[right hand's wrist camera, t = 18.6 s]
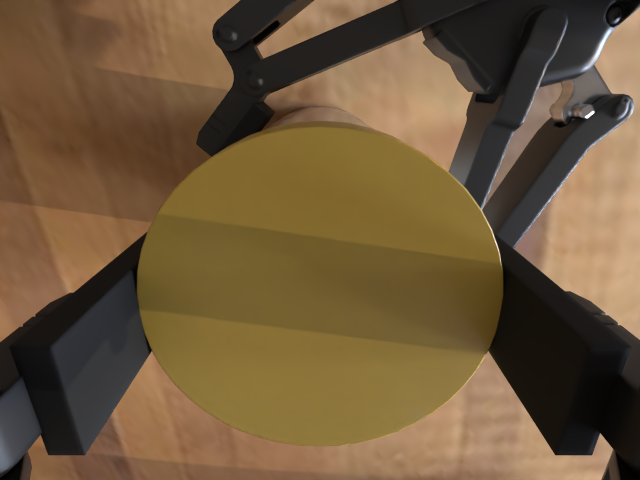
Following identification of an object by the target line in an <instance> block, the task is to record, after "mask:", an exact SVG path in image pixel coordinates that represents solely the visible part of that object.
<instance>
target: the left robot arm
mask: <svg viewBox="0 0 640 480" xmlns="http://www.w3.org/2000/svg"><path fill="white" fill-rule="evenodd" d="M313 1H314V0H240V1H239V2H238V3H237V4H236V5H235V6H233V7H232V8H231V9H230V10H229V11H228V12H226V13H225V14H224V15H223V16H222V17H220V18H219V19H218V20H217V21H216V23H215V24H214V27H213V30H212V33H213V39H214V41H215V43H216V45H217V46H219V47H220V48H221V50H222V51H223V53H224V55H225V57H226V58H227V60H228V62H229V63H230V65H231V67H232V70H233V73H234V82H233V86H232V88H231V89H230V91H229V92H228V94H227V95H226V96H225V98H224V99H223V100H222V102H221V103H220V104H219V106H218V107H217V109H216V110H215V111H214V113H213V114H212V115H211V117H210V118H209V119H208V121H207V122H206V124H205V125H204V126H203V128H202V129H201V130H200V132H199V135H198V139H197V143H196V144H197V145H198V146H199V147H200V148H202V149H203V150H204V151H205V152H207V153H208V154H209V155H210V156H211V157H213V156H214V155H215V154H217V153H219V152H220V151H222V150H223V149H225V148H227V147H228V146H230V145H232V144H234V143H236V142H238V141H239V140H241V139H243V138H245V137H247V136H249V135H252V134H254V133H257V132H260V131H261V130H262V129H263V128H264V126H265V125H266V124H267V123H268V121H269V120H270V119H271V118H272V116H273V115H274V114H275V111H273V110H272V109H271V108H270V107H269V106H268V105H267V104H266V103H264V102H263V101H264V99H265V98H266V97H267V95H269V94H270V93H273V92H275V91H277V90H280V89H282V88H285V87H287V86H289V85H292V84H294V83H297V82H299V81H301V80H304V79H306V78H309V77H311V76H313V75H316V74H318V73H321V72H323V71H325V70H328V69H330V68H333V67H335V66H337V65H340V64H342V63H345V62H347V61H349V60H352V59H354V58H357V57H359V56H361V55H364V54H366V53H369V52H371V51H373V50H376V49H378V48H381V47H383V46H385V45H388V44H390V43H393V42H395V41H398V40H401V39H403V38H405V37H408V36H410V35H413V34H415V33H417V32H420V31H422V33H423V36H424V38H425V41H424V42H423V44H424V45H425V46H426V47H427V48H428V49H429V50H430V51H431V52H432V53H433V54H434V55H435V56H437V57H438V58H440V59H442V60H444V61H445V62H447V63H449V64H450V66H451V68H452V70H453V72H454V74H455V76H456V78H457V80H458V81H459V82H460V83H461V84H462V85H463V87H464V88H465V89H466V90H467V91H468V92H473V95H472V97H471V100H470V103H469V106H468V109H467V114H466V115H467V122H466V125H465V128H464V131H463V133H462V136H461V139H460V142H459V144H458V147H457V150H456V153H455V155H454V158H453V161H452V164H451V166H450V169H449V172H450V173H451V174H452V175H453V176H454V177H455V178H456V179H457V180H458V181H459V182H460V183H461V184H462V185H463V186H464V187H465V188H466V189H467V191H468V192H469V193H470V195H471V196H472V197H473V199H474V200H475V201H476V203H477V204H478V206H479V207H480V208H481V210H482V208H483V206H484V203H485V201H486V198H487V196H488V193H489V191H490V188H491V186H492V184H493V181H494V179H495V176H496V174H497V171H498V169H499V167H500V164H501V162H502V159H503V157H504V154H505V152H506V149H507V147H508V145H509V142H510V140H511V137H512V135H513V133H514V131H515V130H516V129H518V128H519V127H520V126H521V125H522V124H523V122H524V120H525V118H526V116H527V114H528V111H529V109H530V106H531V104H532V102H533V99H534V97H535V94H536V92H537V90H538V87H543V86H547V85H551V84H555V83H560V82H561V84H562V92H561V95H560V97H559V98H558V100H557V101H556V102H555V103H554V104H552V105H551V107H550V110H549V112H550V114H551V116H552V117H551V118H550V119H549V120H548V121H547V122H546V123H545V124H544V125H543V126H542V127H541V128H540V129H539V130H538V131H537V133H536V134H535V135H534V137H533V138H532V139H531V141H530V142H529V144H528V145H527V146H526V148H525V149H524V151H523V152H522V154H521V155H520V156H519V158H518V159H517V161H516V162H515V164H514V165H513V167H512V168H511V169H510V171H509V172H508V174H507V175H506V177H505V178H504V179H503V181H502V182H501V184H500V185H499V187H498V188H497V190H496V191H495V192H494V194H493V195H492V197H491V198H490V200H489V201H488V202H487V204H486V205H485V207H484V208H483V210H482V212H483V214H484V215H485V217H486V219H487V221H488V223H489V225H490V227H491V229H492V231H493V232H494V233H495V234H496V235H497V236H499V237H500V238H501V239H502V240H503V241H505V242H506V243H507V244H508V245H509V246H511V247H512V248H513V249H514V247H515V246H516V245H517V243H518V242H519V241H520V239H521V238H522V237H523V236H524V234H525V233H526V232H527V230H528V229H529V228H530V226H531V225H532V224H533V222H534V221H535V220H536V218H537V217H538V216H539V214H540V213H541V212H542V210H543V209H544V208H545V206H546V205H547V204H548V203H549V201H550V200H551V199H552V197H553V196H554V195H555V193H556V192H557V191H558V189H559V188H560V187H561V185H562V184H563V183H564V181H565V180H566V179H567V177H568V176H569V175H570V173H571V172H572V171H573V170H574V168H575V167H576V166H577V164H578V163H579V162H580V160H581V159H582V158H583V156H584V155H585V154H586V152H587V151H588V150H589V148H590V147H592V146H593V145H594V144H596V143H597V142H598V141H600V140H601V139H602V138H604V137H605V136H606V135H607V134H609V133H610V132H611V131H613V130H614V129H615V128H617V127H618V126H619V125H621V124H622V123H623V122H625V121H626V120H627V119H628V118H629V117H630V116H631V114H632V112H633V109H634V102H633V99H632V98H631V97H630V96H629V95H625V94H612V93H611V92H610V90H609V89H608V87H607V85H606V84H605V82H604V80H603V79H602V77H601V75H600V74H599V72H598V70H597V69H596V67H595V65H594V64H595V63H596V61H597V60H598V58H599V56H600V53H601V51H602V49H603V46H604V44H605V42H606V41H607V39H608V37H609V36H610V34H611V33H612V32H613V30H614V29H615V28H616V27H617V26H618V25H619V24H621V23H622V22H623V21H624V20H625V19H626V18H628V17H629V16H630V15H631V14H632V13H634V12H635V11H636V10H637V9H638V8H639V7H640V0H398V1H396V2H394V3H392V4H389V5H387V6H385V7H382V8H380V9H378V10H376V11H373V12H371V13H369V14H366V15H364V16H362V17H359V18H357V19H355V20H352V21H350V22H348V23H345V24H343V25H341V26H338V27H336V28H334V29H332V30H329V31H327V32H325V33H322V34H320V35H318V36H315V37H313V38H311V39H308V40H306V41H304V42H301V43H299V44H297V45H294V46H292V47H290V48H287V49H285V50H283V51H281V52H278V53H276V54H274V55H271V56H269V57H267V58H264V59H263V57H262V55H261V53H260V52H259V50H258V48H257V46H258V45H259V44H261V43H262V42H263V41H264V40H266V39H267V38H268V37H269V36H271V35H272V34H273V33H274V32H276V31H277V30H278V29H279V28H280V27H282V26H283V25H284V24H285V23H287V22H288V21H289V20H290V19H292V18H293V17H294V16H295V15H297V14H298V13H299V12H300V11H302V10H303V9H304V8H305V7H307V6H308V5H309V4H310V3H311V2H313Z"/></svg>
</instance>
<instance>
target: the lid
mask: <svg viewBox="0 0 640 480" xmlns="http://www.w3.org/2000/svg"><path fill="white" fill-rule="evenodd" d="M137 299H138V305H139V310H140V315H141V320H142V325H143V329H144V333H145V336H146V338H147V340H148V343H149V345H150V347H151V350H152V352H153V354H154V355H155V357H156V359H157V360H158V362H159V364H160V365H161V367H162V369H163V370H164V371H165V372H166V374H167V375H168V376H169V378H170V379H171V380H172V381H173V383H174V384H175V385H176V386H177V387H178V388H179V389H180V390H181V391H182V392H183V393H184V394H185V395H186V396H187V397H188V398H189V399H190V400H191V401H193V402H194V403H195V404H197V405H198V406H199V407H200V408H202V409H203V410H204V411H206V412H207V413H209V414H210V415H212V416H214V417H215V418H217V419H218V420H220V421H222V422H224V423H226V424H228V425H230V426H232V427H234V428H236V429H238V430H240V431H243V432H246V433H248V434H251V435H254V436H257V437H260V438H264V439H268V440H272V441H276V442H280V443H287V444H293V445H302V446H339V445H346V444H354V443H360V442H364V441H368V440H372V439H377V438H380V437H383V436H386V435H389V434H392V433H394V432H397V431H400V430H402V429H404V428H406V427H408V426H410V425H412V424H415V423H416V422H418V421H420V420H421V419H423V418H425V417H426V416H428V415H430V414H431V413H433V412H434V411H436V410H437V409H438V408H440V407H441V406H442V405H443V404H445V403H446V402H447V401H449V400H450V399H451V398H452V397H453V396H454V395H455V394H456V393H457V392H458V391H459V390H460V389H461V388H462V387H463V386H464V385H465V384H466V383H467V381H468V380H469V379H470V378H471V376H472V375H473V374H474V373H475V371H476V370H477V368H478V367H479V365H480V364H481V362H482V360H483V359H484V357H485V356H486V354H487V352H488V350H489V347H490V345H491V343H492V341H493V338H494V336H495V333H496V329H497V325H498V321H499V316H500V311H501V305H502V300H503V270H502V264H501V258H500V252H499V249H498V246H497V243H496V240H495V237H494V234H493V231H492V229H491V227H490V225H489V223H488V221H487V219H486V217H485V215H484V214H483V212H482V210H481V208H480V207H479V206H478V204H477V203H476V201H475V200H474V199H473V197H472V196H471V195H470V193H469V192H468V191H467V189H466V188H465V187H464V186H463V185H462V184H461V183H460V182H459V181H458V180H457V179H456V178H455V177H454V176H453V175H452V174H451V173H450V172H448V171H447V170H446V169H444V168H443V167H442V166H440V165H439V164H438V163H436V162H435V161H434V160H432V159H431V158H429V157H428V156H427V155H425V154H423V153H422V152H420V151H419V150H417V149H415V148H414V147H412V146H410V145H408V144H406V143H404V142H403V141H401V140H399V139H397V138H395V137H393V136H391V135H388V134H386V133H383V132H380V131H377V130H375V129H372V128H369V127H364V126H360V125H355V124H350V123H345V122H332V121H308V122H295V123H290V124H285V125H280V126H275V127H272V128H269V129H266V130H263V131H260V132H257V133H254V134H252V135H249V136H247V137H245V138H243V139H241V140H239V141H238V142H236V143H234V144H232V145H230V146H228V147H227V148H225V149H223V150H222V151H220V152H219V153H217V154H215V155H214V156H213V157H211V158H210V159H208V160H207V161H206V162H204V163H203V164H201V165H200V166H199V167H197V168H196V169H194V170H193V171H192V172H191V173H190V174H189V175H188V176H187V177H186V178H185V179H184V180H183V181H182V182H181V183H180V184H179V185H178V186H176V187H175V189H174V190H173V191H172V193H171V194H170V195H169V196H168V198H167V199H166V200H165V202H164V203H163V204H162V206H161V207H160V209H159V211H158V212H157V214H156V216H155V218H154V220H153V222H152V223H151V225H150V227H149V229H148V232H147V235H146V238H145V241H144V243H143V246H142V249H141V254H140V259H139V265H138V270H137Z"/></svg>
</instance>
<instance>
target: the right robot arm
mask: <svg viewBox="0 0 640 480" xmlns="http://www.w3.org/2000/svg"><path fill="white" fill-rule="evenodd" d="M493 234H494V237H495V240H496V243H497V246H498V249H499V252H500V258H501V264H502V270H503V300H502V305H501V311H500V316H499V321H498V325H497V329H496V333H495V336H494V338H493V341H492V343H491V345H490V347H489V350H488V351H489V352H490V354H491V356H492V357H493V359H494V360H495V362H496V363H497V365H498V366H499V368H500V370H501V371H502V373H503V374H504V376H505V377H506V379H507V380H508V382H509V384H510V385H511V387H512V388H513V390H514V391H515V393H516V395H517V396H518V398H519V399H520V401H521V402H522V404H523V405H524V407H525V409H526V410H527V412H528V413H529V415H530V416H531V418H532V419H533V421H534V423H535V424H536V426H537V427H538V429H539V430H540V432H541V433H542V435H543V437H544V438H545V440H546V441H547V443H548V444H549V446H550V447H551V449H552V451H553V452H554V454H555V455H592V454H593V451H594V448H595V446H596V443H597V440H598V437H599V435H600V433H601V434H602V436H603V437H604V438H605V439H606V441H607V442H608V443H609V444H610V446H611V447H612V448H613V452H612V454H611V457H610V459H609V462H608V464H607V467H606V470H605V472H604V475H603V477H602V480H640V340H639V339H638V338H636V337H635V336H634V335H633V334H631V333H630V332H629V331H627V330H626V329H625V328H624V327H622V326H621V325H618V323H617V322H616V321H615V320H614V319H612V318H611V317H610V316H608V315H605V312H603V311H602V310H601V309H600V308H598V307H597V306H596V305H594V304H593V303H592V302H591V301H589V300H587V299H585V298H583V297H581V296H578V295H576V294H574V293H572V292H570V291H564V290H563V289H561V288H560V287H559V286H558V285H557V284H555V283H554V282H553V281H552V280H550V279H549V278H548V277H547V276H546V275H544V274H543V273H542V272H541V271H540V270H538V269H537V268H536V267H535V266H534V265H532V264H531V263H530V262H529V261H528V260H526V259H525V258H524V257H523V256H522V255H520V254H519V253H518V252H517V251H515V250H514V249H513V248H512V247H511V246H509V245H508V244H507V243H506V242H505V241H503V240H502V239H501V238H500V237H499V236H497V235H496V234H495V233H494V232H493ZM146 235H147V232H146V233H145V234H144V235H143V236H142V237H140V238H139V239H138V240H137V241H136V242H134V243H133V244H132V245H131V246H130V247H128V248H127V249H126V250H125V251H124V252H122V253H121V254H120V255H119V256H118V257H116V258H115V259H114V260H113V261H111V262H110V263H109V264H108V265H107V266H105V267H104V268H103V269H102V270H101V271H99V272H98V273H97V274H96V275H95V276H93V277H92V278H91V279H90V280H89V281H87V282H86V283H85V284H84V285H83V286H81V287H80V288H79V289H78V290H76V291H75V292H74V293H69V294H67V295H65V296H63V297H61V298H59V299H57V300H55V301H53V302H51V303H49V304H48V305H47V306H46V307H44V308H43V309H42V310H40V311H39V312H38V313H37V314H36V316H35V317H32V318H30V319H29V320H28V321H27V322H25V323H24V324H23V327H19V328H18V329H17V330H15V331H14V332H13V333H11V334H10V335H9V336H8V337H6V338H5V339H4V340H3V341H1V342H0V480H30V475H31V469H32V466H31V460H30V457H29V454H28V452H27V451H28V449H29V448H30V447H31V446H32V444H33V443H34V442H35V441H36V439H37V438H38V437H39V436H40V434H41V436H42V439H43V442H44V445H45V447H46V450H47V453H48V455H85V454H86V453H87V451H88V449H89V448H90V446H91V445H92V443H93V442H94V440H95V439H96V437H97V435H98V434H99V432H100V431H101V429H102V428H103V426H104V424H105V423H106V421H107V420H108V418H109V417H110V415H111V414H112V412H113V410H114V409H115V407H116V406H117V404H118V403H119V401H120V400H121V398H122V396H123V395H124V393H125V392H126V390H127V389H128V387H129V386H130V384H131V382H132V381H133V379H134V378H135V376H136V375H137V373H138V372H139V370H140V368H141V367H142V365H143V364H144V362H145V361H146V359H147V357H148V356H149V354H150V353H151V351H152V350H151V347H150V345H149V343H148V340H147V338H146V336H145V333H144V329H143V325H142V320H141V315H140V310H139V305H138V299H137V270H138V265H139V259H140V254H141V249H142V246H143V243H144V241H145V238H146Z"/></svg>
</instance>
